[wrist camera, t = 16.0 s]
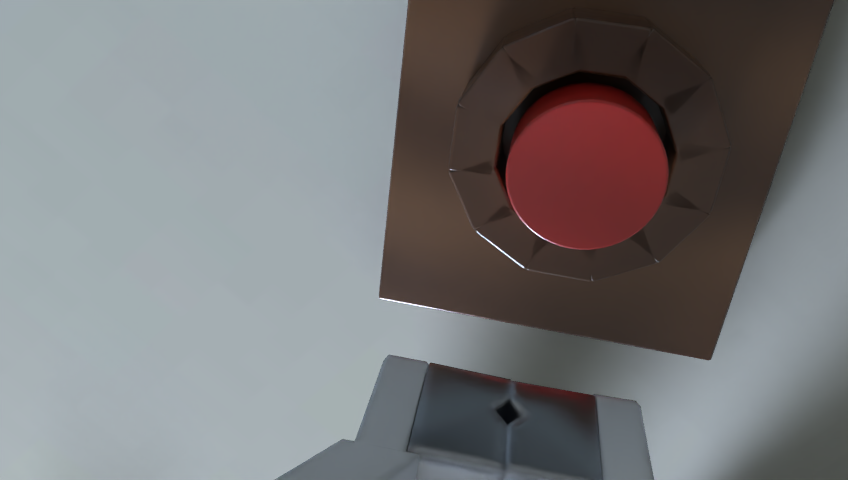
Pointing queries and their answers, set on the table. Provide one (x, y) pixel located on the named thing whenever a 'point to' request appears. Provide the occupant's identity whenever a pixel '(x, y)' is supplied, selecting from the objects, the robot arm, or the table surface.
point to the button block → (675, 122)
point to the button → (586, 167)
